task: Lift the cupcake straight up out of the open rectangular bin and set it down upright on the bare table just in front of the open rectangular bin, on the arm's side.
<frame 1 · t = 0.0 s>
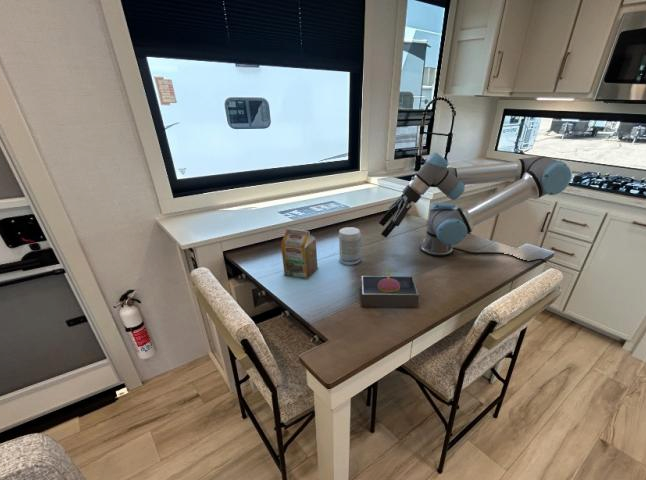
hand: (382, 229, 140), 15 cm above the table, tool tilted 35°, fingers open, 13 cm apart
open rectangular bin: (387, 297, 123), on the table
cupcake: (387, 296, 122), resting on open rectangular bin
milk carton: (301, 272, 140), on the table
supplement tub: (349, 261, 149), on the table
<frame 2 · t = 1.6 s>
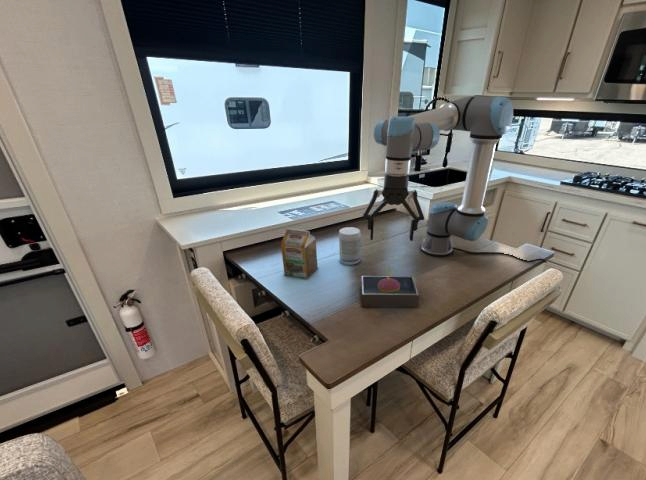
hand: (391, 239, 110), 23 cm above the table, tool pointing down, fingers open, 13 cm apart
nothing on the table moved.
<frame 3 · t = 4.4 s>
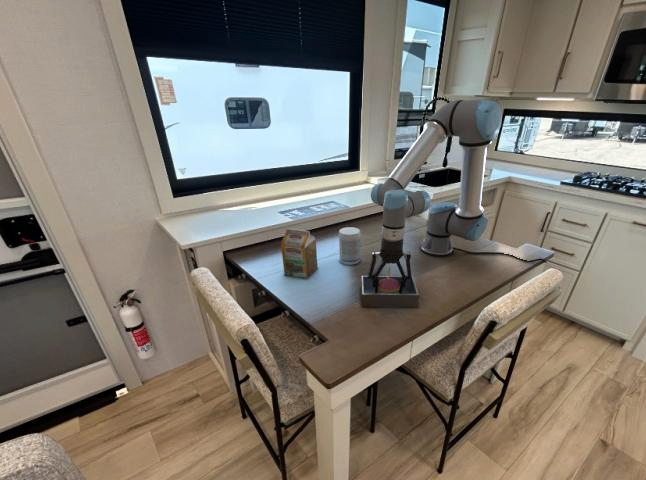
hand: (388, 293, 122), 1 cm above the table, tool pointing down, fingers closed on cupcake, 8 cm apart
cupcake: (387, 296, 122), resting on open rectangular bin, touching gripper
everything else where it was.
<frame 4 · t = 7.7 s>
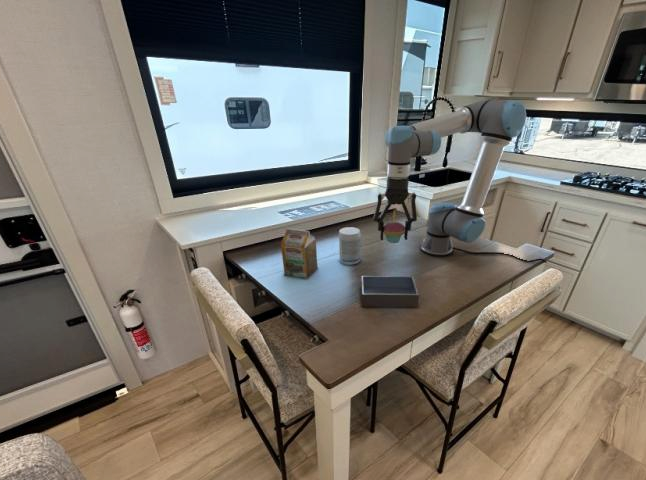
hand: (393, 238, 123), 19 cm above the table, tool pointing down, fingers closed on cupcake, 8 cm apart
cupcake: (393, 241, 124), point 18 cm above the table, touching gripper
everything else where it was.
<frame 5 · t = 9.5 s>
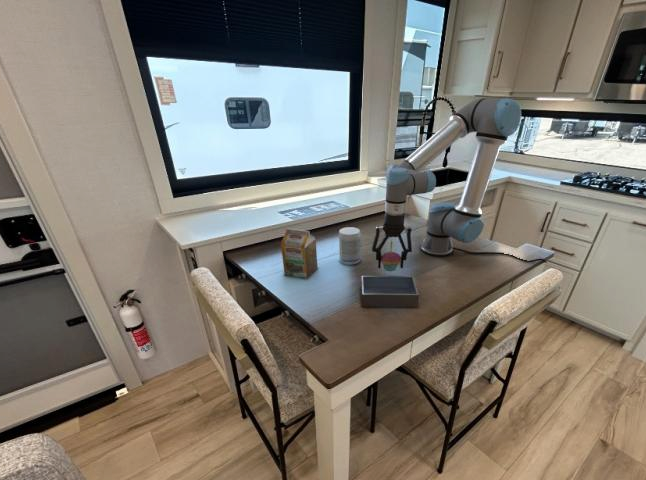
hand: (390, 266, 132), 5 cm above the table, tool pointing down, fingers closed on cupcake, 8 cm apart
cupcake: (390, 269, 133), point 4 cm above the table, touching gripper
everything else where it was.
when the fingers open (1 cm above the table, at t = 11.2 s): cupcake stays where it is, on the table.
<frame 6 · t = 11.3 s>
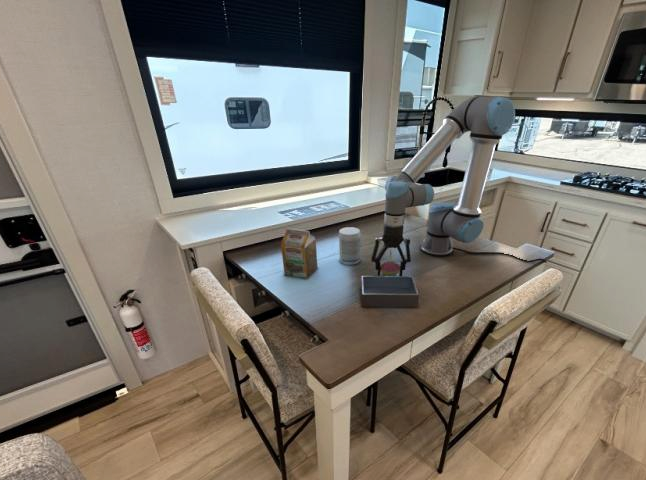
hand: (389, 276, 135), 1 cm above the table, tool pointing down, fingers open, 9 cm apart
cupcake: (389, 278, 135), on the table
everything else where it was.
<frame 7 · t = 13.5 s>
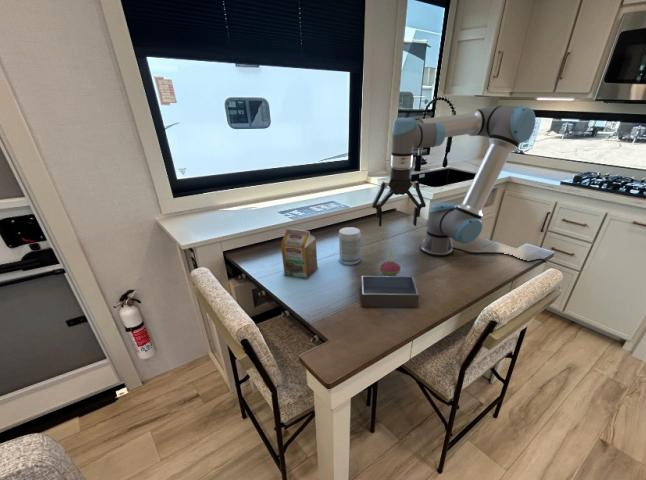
hand: (397, 225, 126), 22 cm above the table, tool pointing down, fingers open, 13 cm apart
nothing on the table moved.
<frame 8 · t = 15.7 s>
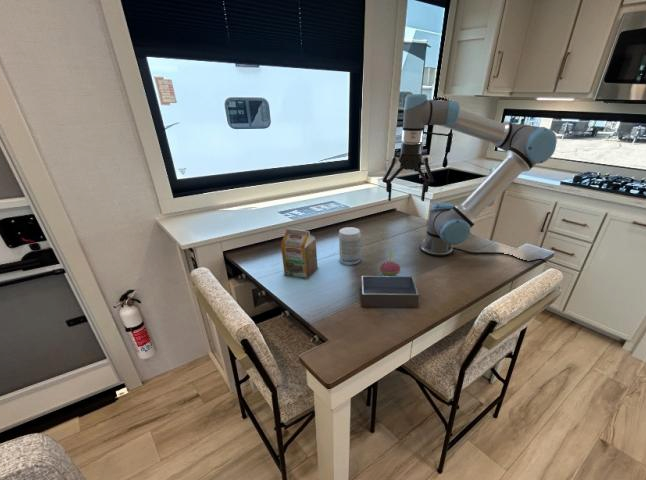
hand: (405, 200, 131), 29 cm above the table, tool pointing down, fingers open, 13 cm apart
nothing on the table moved.
at the end: cupcake inside the target area (0.0 cm from its centre), on the table; cupcake tilted 0°; cupcake touching table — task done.
